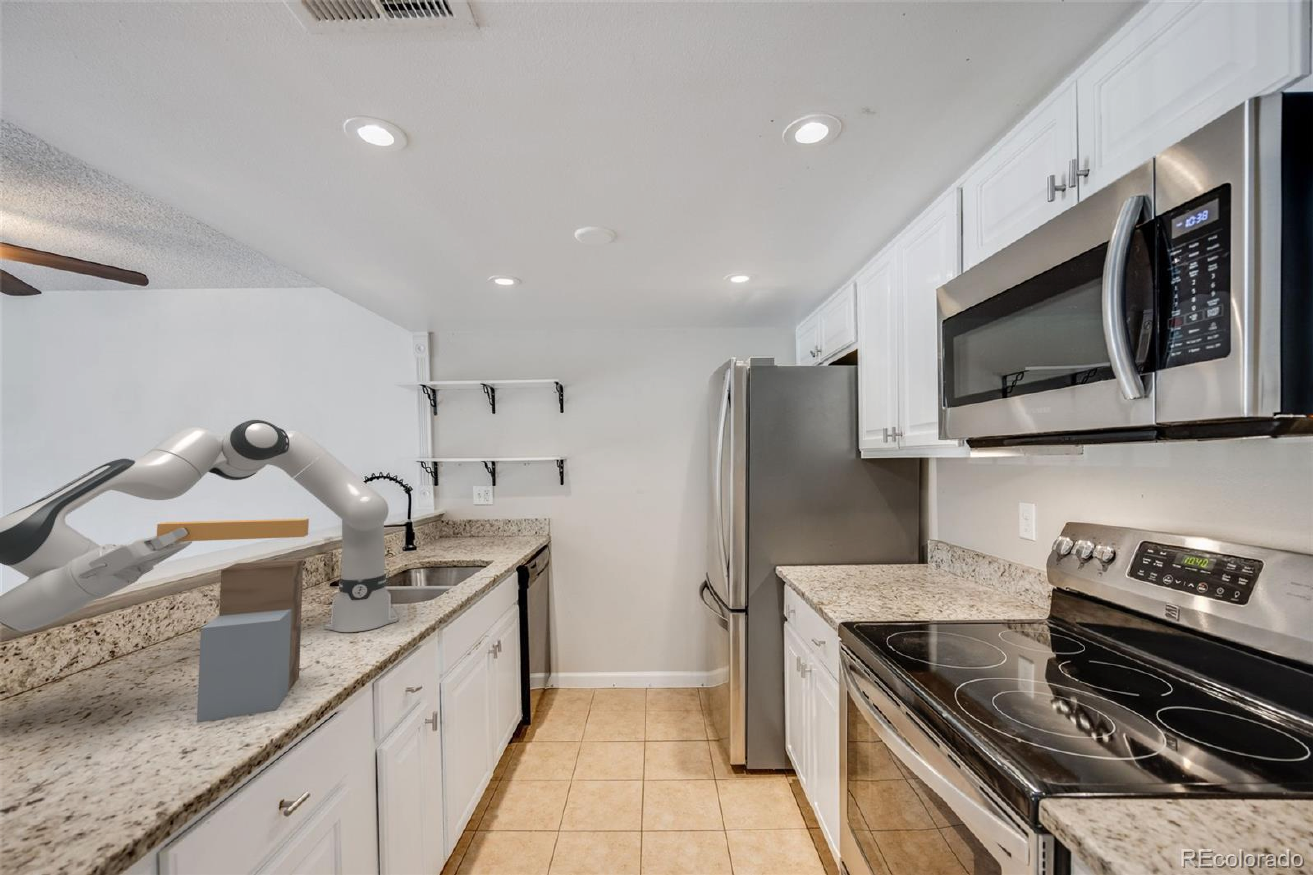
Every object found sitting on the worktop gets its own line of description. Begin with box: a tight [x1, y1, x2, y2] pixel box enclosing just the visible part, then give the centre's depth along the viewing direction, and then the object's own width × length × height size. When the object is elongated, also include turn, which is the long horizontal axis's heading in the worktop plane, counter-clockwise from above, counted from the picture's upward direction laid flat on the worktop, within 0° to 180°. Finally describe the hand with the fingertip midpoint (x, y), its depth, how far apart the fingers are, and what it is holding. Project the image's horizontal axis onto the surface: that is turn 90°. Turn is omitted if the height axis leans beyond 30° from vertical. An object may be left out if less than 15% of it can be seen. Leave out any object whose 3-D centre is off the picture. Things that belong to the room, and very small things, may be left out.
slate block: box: [196, 609, 291, 723], centre depth 98 cm, size 8×12×17 cm, turn 112°
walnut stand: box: [218, 558, 304, 693], centre depth 106 cm, size 8×12×26 cm, turn 112°
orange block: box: [156, 518, 310, 542], centre depth 103 cm, size 4×24×4 cm, turn 112°
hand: (192, 528), depth 101 cm, fingers closed on orange block, 3 cm apart
